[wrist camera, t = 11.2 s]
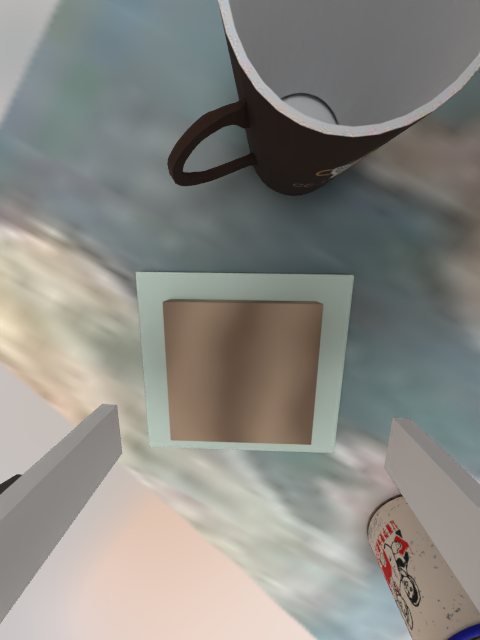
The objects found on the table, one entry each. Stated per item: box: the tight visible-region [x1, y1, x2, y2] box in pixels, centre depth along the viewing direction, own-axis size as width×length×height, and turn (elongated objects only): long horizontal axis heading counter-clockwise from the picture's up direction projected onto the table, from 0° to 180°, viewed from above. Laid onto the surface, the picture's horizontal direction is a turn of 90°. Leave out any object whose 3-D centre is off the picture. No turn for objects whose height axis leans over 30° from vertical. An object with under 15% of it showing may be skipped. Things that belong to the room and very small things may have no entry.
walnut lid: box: [162, 299, 324, 445], centre depth 18 cm, size 11×11×2 cm
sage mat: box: [136, 272, 354, 453], centre depth 19 cm, size 16×15×1 cm
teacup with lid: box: [368, 496, 480, 640], centre depth 17 cm, size 12×9×12 cm
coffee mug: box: [167, 0, 480, 196], centre depth 11 cm, size 12×9×10 cm
